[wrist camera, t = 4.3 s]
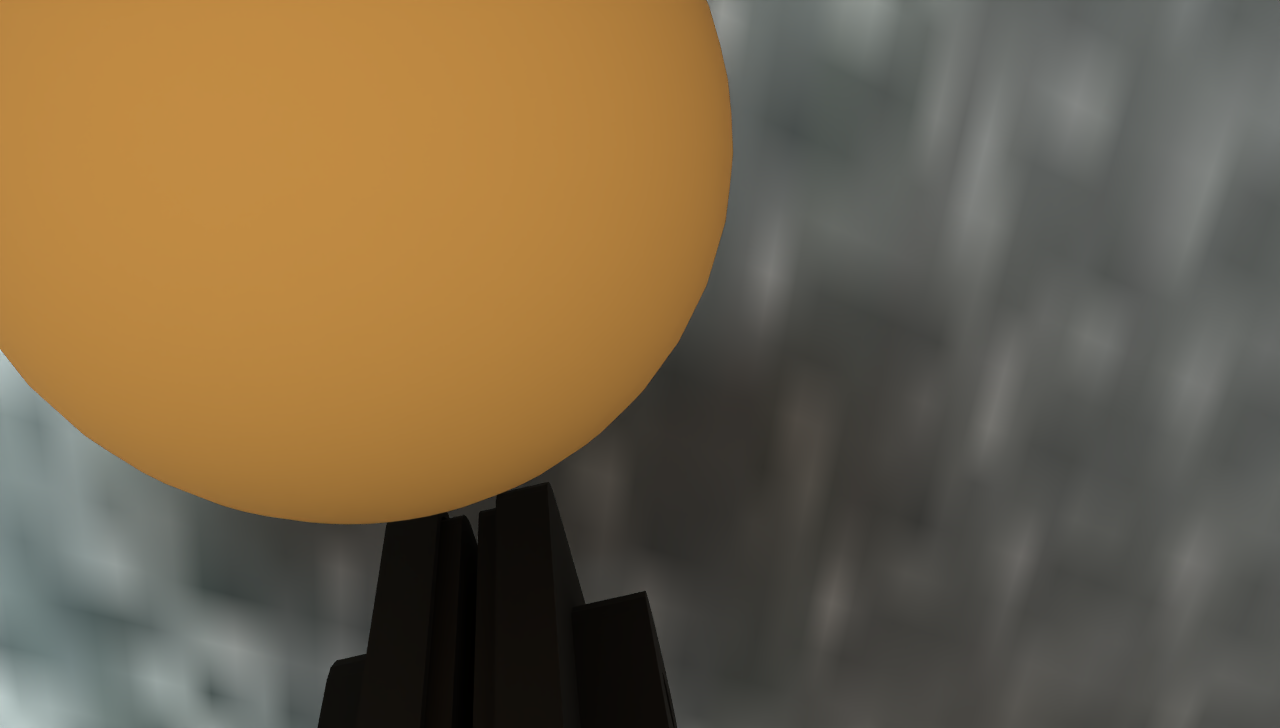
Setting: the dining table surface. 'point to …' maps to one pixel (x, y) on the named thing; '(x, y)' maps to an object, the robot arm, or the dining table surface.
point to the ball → (354, 234)
